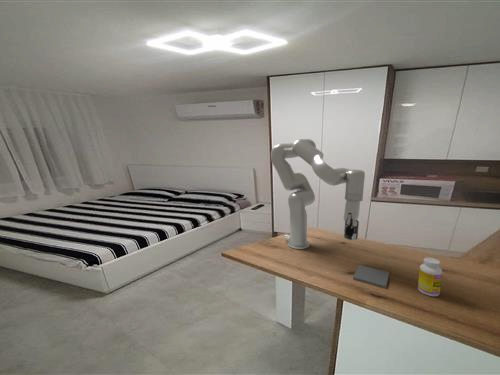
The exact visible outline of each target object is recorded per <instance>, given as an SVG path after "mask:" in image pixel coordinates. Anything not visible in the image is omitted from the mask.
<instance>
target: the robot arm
mask: <svg viewBox="0 0 500 375" xmlns="http://www.w3.org/2000/svg"><path fill="white" fill-rule="evenodd" d="M316 145H317V144H316V143H315V141H313V139H310V138H299V139H296V140H295V141H294V142H293V143H278V144H276V145H274V146H273V147H272V149H271V150H270V151H271V152H270V160H271V164H272V165H273V168H275V171H276V172H277V174H278V178H279V179H280V181H281V183H282V185H283V188H284V189H285V190H286V191H288V192H291V191H293V192H292V193H291V194H289V196H288V200H287V203H288V208H289V235H288V234H284V240H285V241H286V240H287V246H288V247H289V248H291V249H296V250H305V249H308V248H309V247H310V242H309V241H308V214H307V210H306V207H308V206H310V205H312V204H314V202H315V200H316V199H315V198H316V196H315V193H314V190H313V188H312V187H311V186H312V185H311V184H310V182H309V180H308V178H307V177H306V176H305V175H304V174H303V173H300V172H294V170H293V168H292V166H291V164H290V163H289V162H288V161H287V159H293V158H300V159H302V160H303V161H305V163H307V164H308V165H309V166H310V167H311V169H312V170H313V173H314V174H315V175H316V176H317V177H318V178H319V179H320V180H322V182H324V183H326V184H327V185H329V186H333V187H334V186H339V185H343V184H345V191H344V192H345V194H344V200H345V206H344V214H343V221H344V222H345V221H346V220H347V224H346V235H348V236H353V229H354V228H353V224H354V222H355V221H356V220H358V219H359V216H360V209H361V208H360V205H361V202H362V201H363V200H364V198H363V197H364V188H365V178H366V176H365V171H364V170H361V169H350V168H345V167H339V168H333V167H331V166H330V164H327V163H326V161H325V160H324V159H323V158H324V153H323V151H321V150H319V149H318V148H317V147H316ZM351 220H353V221H351ZM350 222H351V223H352V224H351V223H350Z"/></svg>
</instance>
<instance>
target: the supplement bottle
mask: <svg viewBox="0 0 500 375" xmlns="http://www.w3.org/2000/svg"><path fill="white" fill-rule="evenodd" d="M440 265H441V261H440V260H438V259H436V258H434V257H424V258H423V263H422V264H420V266H419V274H418V281H417V289H418V291H419V292H421V294H423V295H426V296H429V297H438V296H440V293H441V287H442V279H443V270H442V268H441V267H440Z"/></svg>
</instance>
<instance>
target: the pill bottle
mask: <svg viewBox="0 0 500 375" xmlns="http://www.w3.org/2000/svg"><path fill="white" fill-rule="evenodd" d="M351 221H353V220H351ZM350 223H351V222H350ZM346 224H347V220H346V221H344V230H343V231H344V232H343V238H344V239H346V240H349V241H356V240H358V235H359V225H360V224H359V220H358V219H357V220H356V221H355V222H354V224H353V228H354V229H353V236H348V235H346ZM351 224H352V223H351Z"/></svg>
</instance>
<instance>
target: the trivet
mask: <svg viewBox="0 0 500 375" xmlns="http://www.w3.org/2000/svg"><path fill="white" fill-rule="evenodd" d="M389 277H390V271H389V272H388V271H385V270H381V269H378V268H374V267H369V266H366V265H363V264H362V265H361V264H359V265H358V266H357V268H356V271H355V272H354V275H353V280H356V281H359V282H361V283H365V284H369V285H373V286H375V287H379V288H382V289H387V285H388V282H389Z"/></svg>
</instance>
